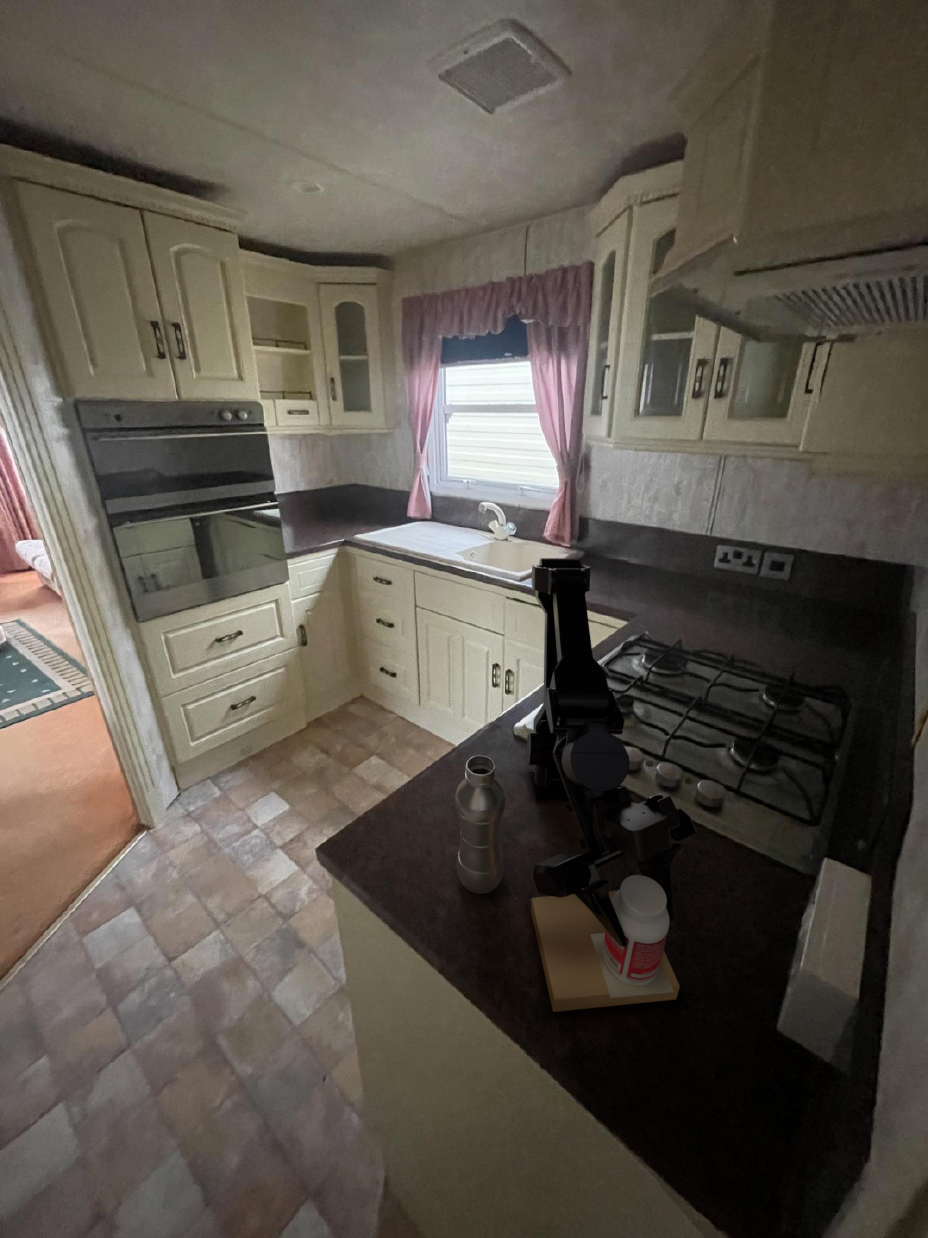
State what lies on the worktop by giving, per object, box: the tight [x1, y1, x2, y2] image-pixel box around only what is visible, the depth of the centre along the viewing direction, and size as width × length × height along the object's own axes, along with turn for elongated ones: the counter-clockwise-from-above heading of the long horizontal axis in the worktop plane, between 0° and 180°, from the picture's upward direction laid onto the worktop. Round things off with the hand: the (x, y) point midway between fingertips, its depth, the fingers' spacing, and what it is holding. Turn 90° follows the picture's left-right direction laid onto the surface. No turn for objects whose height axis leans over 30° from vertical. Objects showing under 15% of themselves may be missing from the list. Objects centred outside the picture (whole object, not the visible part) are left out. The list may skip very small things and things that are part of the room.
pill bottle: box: [603, 874, 670, 986], centre depth 56 cm, size 6×6×11 cm
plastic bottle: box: [454, 755, 506, 895], centre depth 67 cm, size 6×7×20 cm
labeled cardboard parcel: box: [530, 890, 681, 1013], centre depth 61 cm, size 12×14×3 cm
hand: (646, 932), depth 55 cm, fingers closed on pill bottle, 6 cm apart
